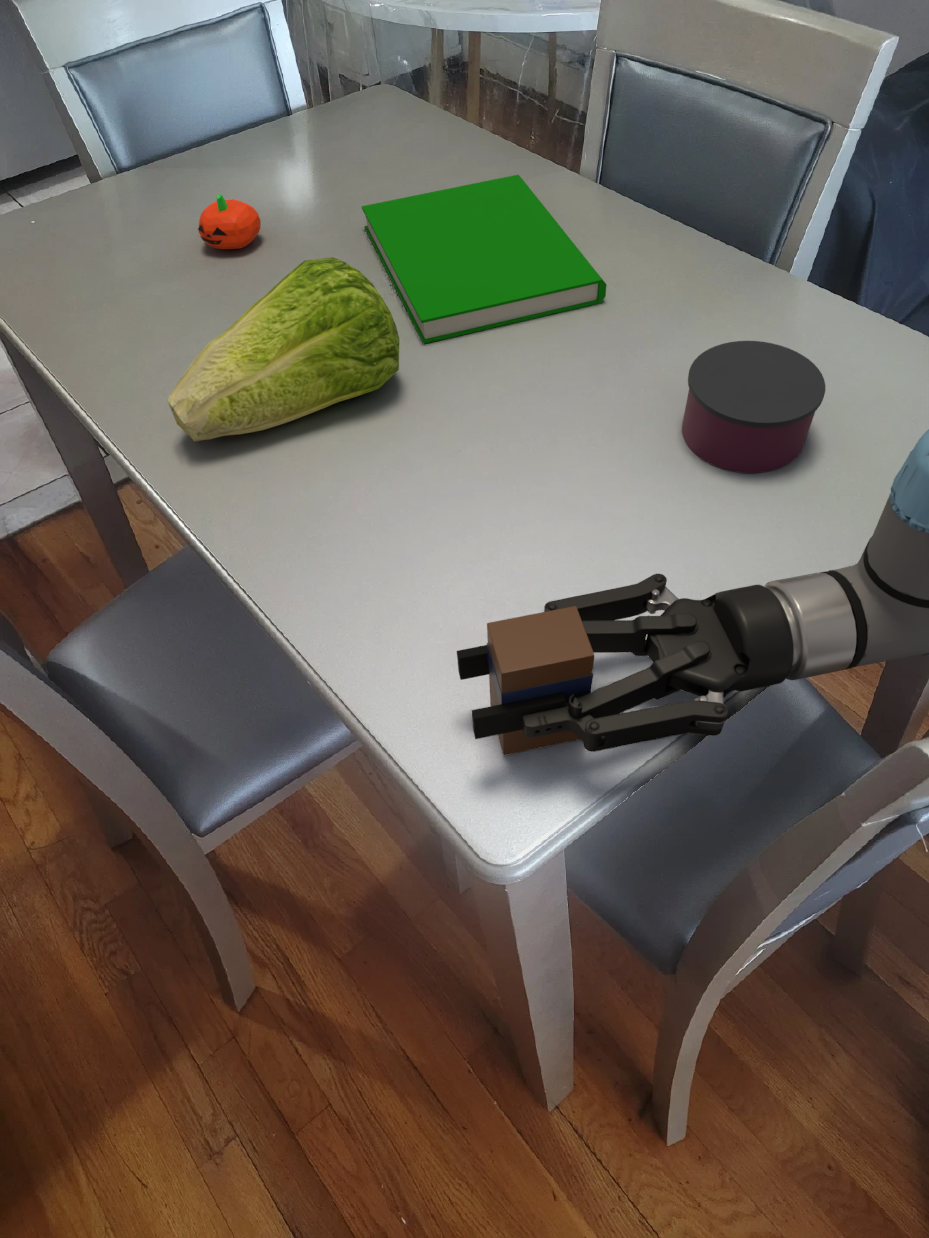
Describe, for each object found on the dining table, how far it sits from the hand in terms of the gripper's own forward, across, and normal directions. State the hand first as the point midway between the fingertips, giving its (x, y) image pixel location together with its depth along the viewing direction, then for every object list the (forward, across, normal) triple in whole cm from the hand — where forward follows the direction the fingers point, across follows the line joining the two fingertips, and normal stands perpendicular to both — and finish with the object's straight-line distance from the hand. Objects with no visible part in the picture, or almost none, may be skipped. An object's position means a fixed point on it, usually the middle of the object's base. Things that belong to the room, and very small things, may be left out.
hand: (466, 694), depth 62 cm
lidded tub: (-34, +28, -6) cm, 45 cm away
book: (-15, +67, -6) cm, 69 cm away
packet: (-5, 0, -6) cm, 8 cm away
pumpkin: (+15, +81, -6) cm, 82 cm away
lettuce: (+10, +45, -6) cm, 47 cm away
